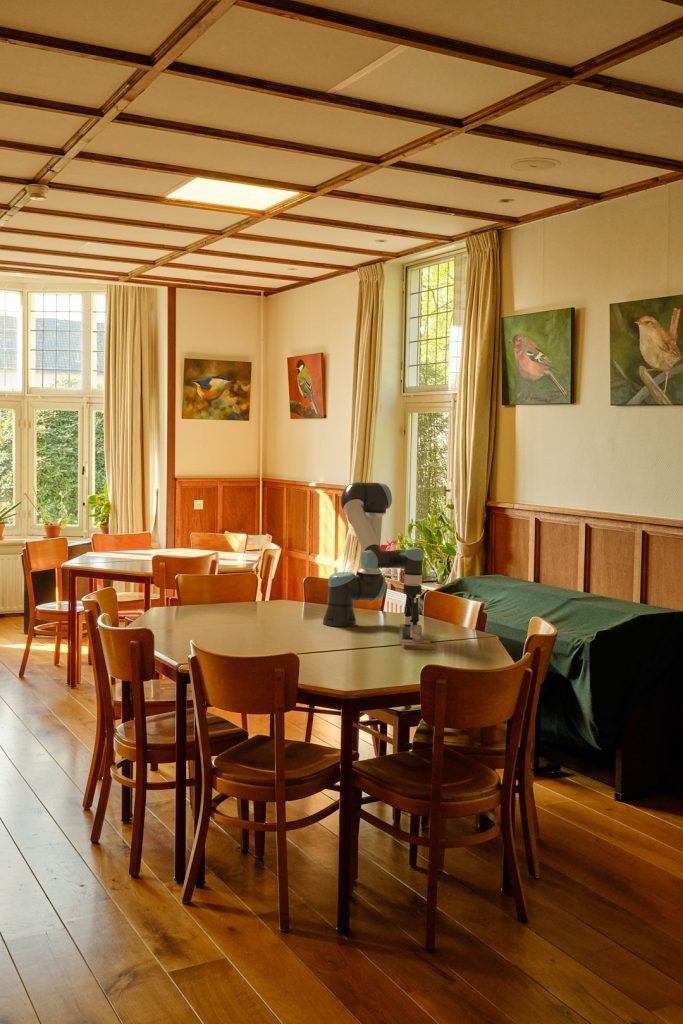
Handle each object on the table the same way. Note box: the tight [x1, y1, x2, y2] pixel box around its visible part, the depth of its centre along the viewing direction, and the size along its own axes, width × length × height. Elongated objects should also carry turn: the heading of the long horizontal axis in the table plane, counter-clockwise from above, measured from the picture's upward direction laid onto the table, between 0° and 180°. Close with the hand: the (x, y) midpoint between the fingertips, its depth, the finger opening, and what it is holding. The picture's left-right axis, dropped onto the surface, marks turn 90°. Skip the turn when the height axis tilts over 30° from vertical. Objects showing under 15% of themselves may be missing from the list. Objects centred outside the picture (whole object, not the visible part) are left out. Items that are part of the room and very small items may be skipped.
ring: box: [398, 623, 423, 640], centre depth 422 cm, size 8×8×6 cm
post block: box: [398, 624, 435, 651], centre depth 408 cm, size 12×12×9 cm
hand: (410, 634), depth 422 cm, fingers open, 13 cm apart
